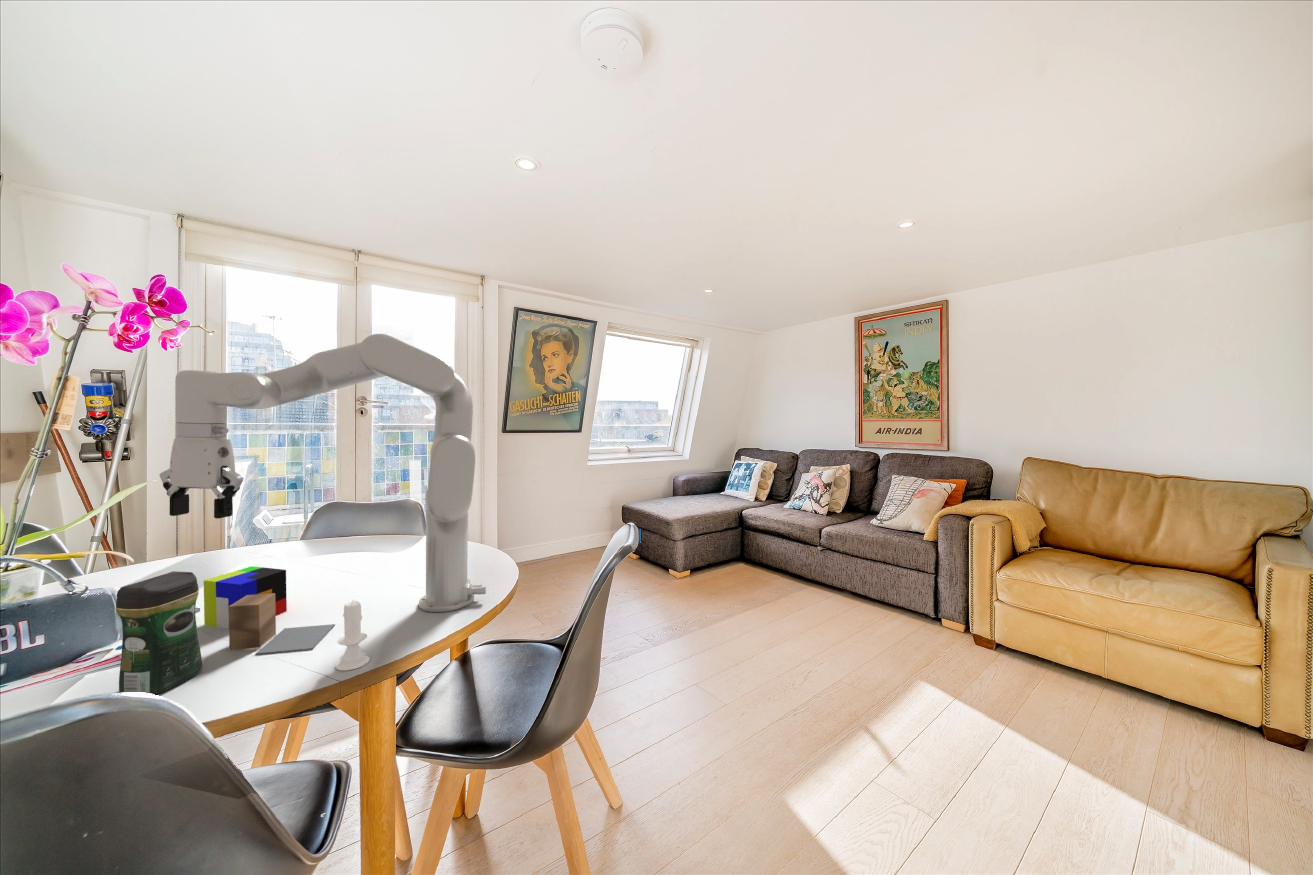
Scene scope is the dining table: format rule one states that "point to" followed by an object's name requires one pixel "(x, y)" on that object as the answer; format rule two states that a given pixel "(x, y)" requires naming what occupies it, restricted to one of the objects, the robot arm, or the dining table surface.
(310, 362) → the robot arm
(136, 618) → the coffee jar
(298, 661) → the dining table surface
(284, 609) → the puzzle toy
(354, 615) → the candle
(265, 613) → the block
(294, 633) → the mat
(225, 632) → the dining table surface
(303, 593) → the dining table surface
